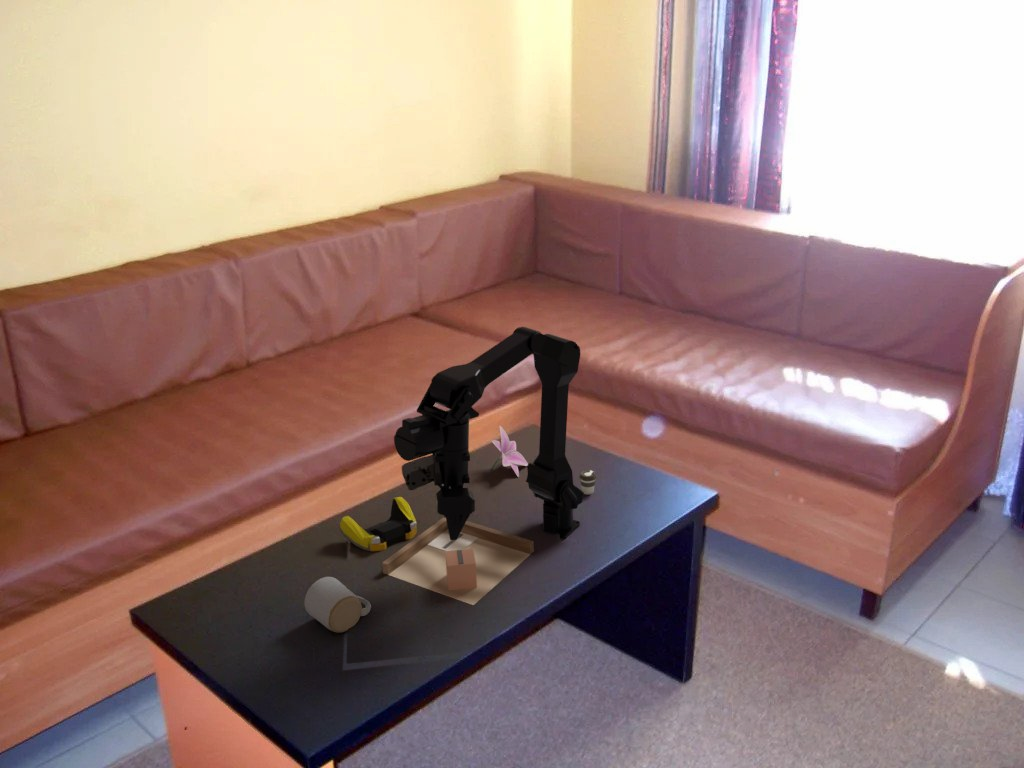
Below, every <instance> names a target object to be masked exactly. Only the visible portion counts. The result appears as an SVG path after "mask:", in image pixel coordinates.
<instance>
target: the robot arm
mask: <svg viewBox="0 0 1024 768" xmlns="http://www.w3.org/2000/svg"><path fill="white" fill-rule="evenodd" d="M531 355H533V362H534V369H535V370H536V373H537V376H538V377H539V380H540V382H541V398H540V399H541V400H540V402H541V403H540V422H539V423H540V425H539V428H540V429H539V446H538V447H539V448H538V455H537V456H536V458H535V459H534V460H533V462H529V463H528V466H526V469H527V475H526V480H525V483H528V484H527V485H528V488H529V490H531V492H532V494H533V496H534V497H535V498H539V499H540V500H541V501H543V504H542V530H543V532H545V533H549V534H552V535H556V534H558V536H559V538H560V539H566V538H567V537H568V536H570V535H571V533H572V532H574V531H575V530H576V529H577V528H578V527H579V526H581V522H580V521H579V520H575V519H574V510H576V509H578V506H579V505H580V504H582V503H583V499H584V495H585V494H584V492H582V489H580V488H578V487H577V486H576V485H574V476H573V470H572V467H571V465H570V463H569V461H568V458H567V456H566V444H567V428H568V427H567V426H568V407H569V406H568V403H569V385H570V383H571V382H572V380H574V377H576V375H577V373H578V370H579V366H580V360H581V359H580V358H581V348H580V346H579V345H578V344H577V343H576V341H574V340H572V339H571V340H570V339H567V338H563V337H561V336H558V335H554V334H551V333H545V334H544V333H542V332H541V331H538V330H536V329H533V328H529V327H528V326H527V327H526V326H520V327H516V328H515V329H514V331H513V332H512V334H510V335H508V336H507V337H506V338H504V339H503V340H501V341H500V342H497V344H495V345H494V346H492V347H491V348H489V349H488V350H486V351H485V352H483V353H482V354H480V355H479V356H477V357H476V358H475V359H473V360H472V361H469V362H468V363H467V362H466V363H465V364H464V363H463V364H459V365H454V366H450V367H448V368H446V369H443V370H441V371H439V372H437V373H436V374H435V375H434V376H433V377H432V378H431V380H430V381H431V382H430V384H429V386H428V388H427V389H426V392H425V394H424V396H423V397H422V399H421V401H420V403H419V405H418V407H417V408H416V412H417V413H418V414H420V415H418V416H415V417H409V418H408V417H407V418H404V419H402V421H401V426H399V427H398V428H397V430H396V431H395V434H394V436H393V442H394V443H393V444H394V447H395V450H396V452H397V454H398V456H400V458H401V459H402V460H404V461H406V463H405V462H404V463H403V464H402V465H401V474H402V477H403V479H404V483H405V486H406V487H407V489H408V491H414V490H417V489H418V488H421V487H424V486H426V485H428V484H431V483H432V482H433V484H434V486H438V488H439V490H438V491H437V492H436V493H435V503H436V505H435V507H436V511H437V514H438V515H442V516H443V517H446V521H447V526H448V531H449V536H450V540H457V538H458V536H459V534H460V532H461V530H462V528H463V526H464V525H465V523H466V521H468V519H469V517H470V516H471V514H473V513H474V512H475V511H476V499H475V495H474V493H473V490H471V489H469V487H464V485H465V484H470V482H471V481H470V475H469V474H470V473H469V462H470V461H471V455H470V454H471V453H470V450H469V447H470V445H469V443H470V420H472V419H475V418H478V417H479V415H480V413H479V412H478V411H477V410H475V409H474V407H473V406H474V405H475V404H476V403H478V401H480V399H481V398H482V397H483V394H484V391H485V389H486V388H487V387H488V386H489V385H490V384H491V383H493V382H494V381H495V380H497V379H498V378H500V377H501V376H503V375H504V374H506V373H507V372H508V371H509V370H511V369H513V368H514V367H516V366H517V365H518V364H520V363H522V362H523V361H524V360H525V359H527V358H529V356H531ZM435 404H438V405H440V406H442V407H444V408H445V409H446V410H444V409H442V408H439V407H437V406H434V405H435ZM447 409H448V410H447ZM407 461H408V462H407Z"/></svg>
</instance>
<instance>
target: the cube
mask: <svg viewBox="0 0 1024 768" xmlns="http://www.w3.org/2000/svg"><path fill="white" fill-rule="evenodd" d="M445 554H446V570H447V581H448V588H449V590H458V589H468V588H477V579H476V562H475V557H474V551H473V549H463V550H453V551H445Z"/></svg>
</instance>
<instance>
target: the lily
mask: <svg viewBox="0 0 1024 768" xmlns="http://www.w3.org/2000/svg"><path fill="white" fill-rule="evenodd" d="M499 432H500V441H501V442H500V441H499V440H495V439H494V440H491V442H492V443H493V444H494V446H495V447H496V448H497V449H498V450H499V452H500V453H501V454H500V457H499V458H498V459H497V460H496V461H495V463H494V464H493V465H492V467H491V470H493V469H494V467H495V466H496V464H497V463H498V461H500V460H501V459H502V461H501V462H502V466H503V467H510V466H511V468H512V470H513V471H514V473H515V474H516V476H517V477H518V478H519V477H520V473H519V472H520V471H519V468H518V466H525V467H527V466H528V464H529V463H528V461H527V460H526V459H525V457H524V456H523V455H522V454H521V453H520V452H519V451H517V442H516V441H515V440H510V438H509V436H508V434H507V432H506V431H505V430H504V428H503V427H502V426H501V425H499Z"/></svg>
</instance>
